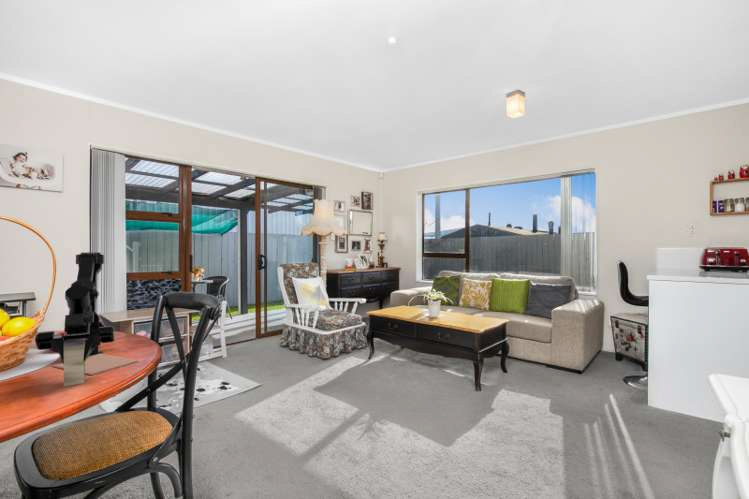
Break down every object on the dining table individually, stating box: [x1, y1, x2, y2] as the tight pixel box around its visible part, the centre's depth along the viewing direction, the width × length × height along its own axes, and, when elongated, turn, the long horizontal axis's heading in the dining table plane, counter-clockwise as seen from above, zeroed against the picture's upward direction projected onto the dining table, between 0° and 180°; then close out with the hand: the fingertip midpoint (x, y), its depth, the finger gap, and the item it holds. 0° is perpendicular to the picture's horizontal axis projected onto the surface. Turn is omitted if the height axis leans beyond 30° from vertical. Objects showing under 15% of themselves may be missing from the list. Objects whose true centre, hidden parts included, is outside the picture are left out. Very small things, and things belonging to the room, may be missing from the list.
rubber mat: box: [52, 353, 139, 377], centre depth 126 cm, size 21×15×1 cm
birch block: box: [63, 338, 86, 387], centre depth 109 cm, size 4×4×12 cm
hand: (74, 361), depth 108 cm, fingers closed on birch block, 4 cm apart
